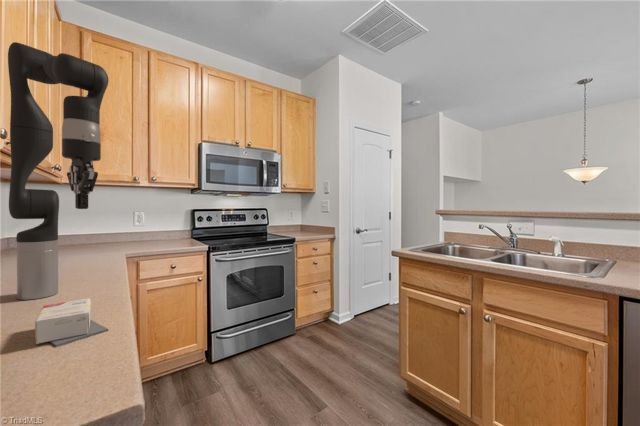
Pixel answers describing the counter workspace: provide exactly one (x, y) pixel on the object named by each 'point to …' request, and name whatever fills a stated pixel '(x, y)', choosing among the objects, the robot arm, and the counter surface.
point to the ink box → (63, 320)
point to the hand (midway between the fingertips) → (81, 208)
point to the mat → (93, 330)
